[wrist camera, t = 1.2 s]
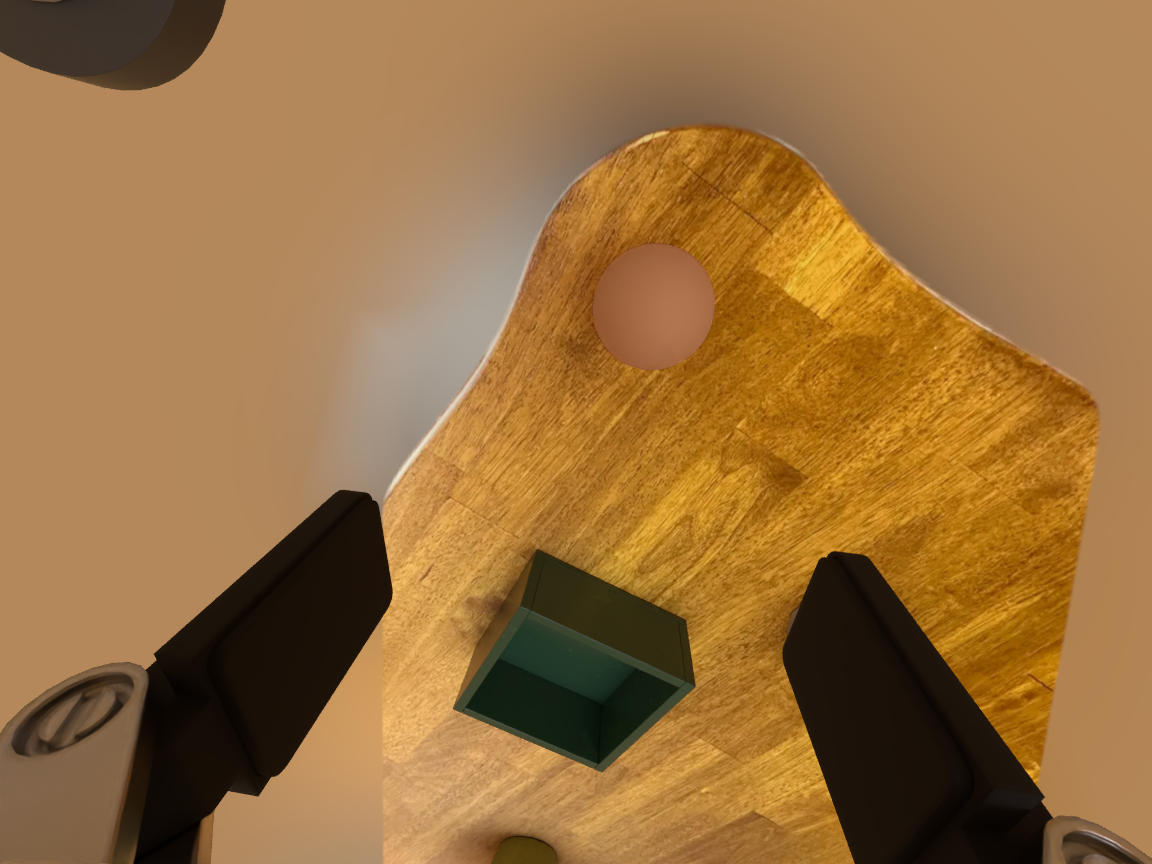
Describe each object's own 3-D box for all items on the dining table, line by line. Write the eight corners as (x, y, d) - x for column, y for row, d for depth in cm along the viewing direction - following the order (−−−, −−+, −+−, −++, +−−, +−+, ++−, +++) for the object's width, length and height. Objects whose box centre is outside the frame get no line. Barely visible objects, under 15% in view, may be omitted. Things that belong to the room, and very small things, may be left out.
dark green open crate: (475, 647, 39) (452, 709, 34) (536, 548, 33) (519, 606, 28) (605, 705, 40) (602, 772, 35) (686, 620, 34) (695, 686, 29)
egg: (692, 228, 22) (724, 226, 15) (707, 334, 25) (741, 379, 17) (587, 257, 24) (567, 269, 16) (610, 356, 26) (602, 407, 18)
